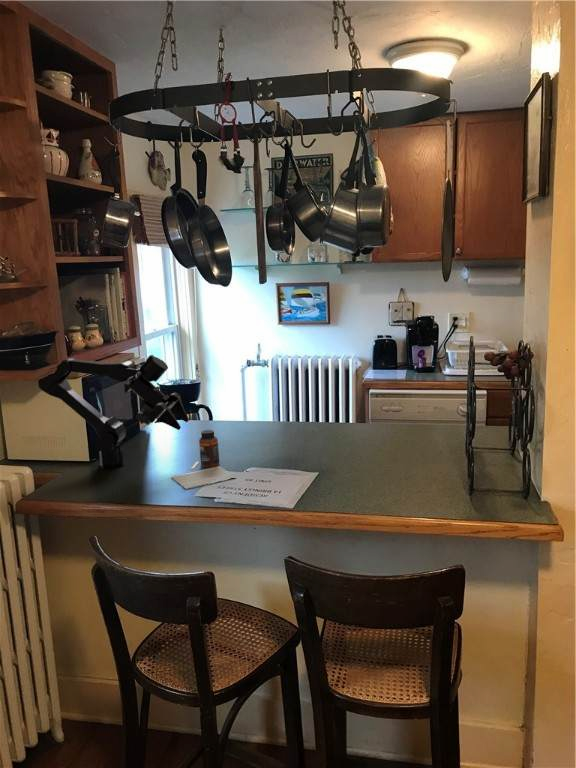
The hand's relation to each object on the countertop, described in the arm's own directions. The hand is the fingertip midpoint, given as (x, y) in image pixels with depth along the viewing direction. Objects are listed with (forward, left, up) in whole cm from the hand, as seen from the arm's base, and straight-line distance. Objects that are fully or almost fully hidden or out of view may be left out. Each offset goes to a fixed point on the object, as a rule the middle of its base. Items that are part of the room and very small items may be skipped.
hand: (184, 425), depth 197 cm
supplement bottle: (+6, -5, -14) cm, 16 cm away
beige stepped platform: (0, -15, -13) cm, 20 cm away
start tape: (+2, -2, -13) cm, 14 cm away
